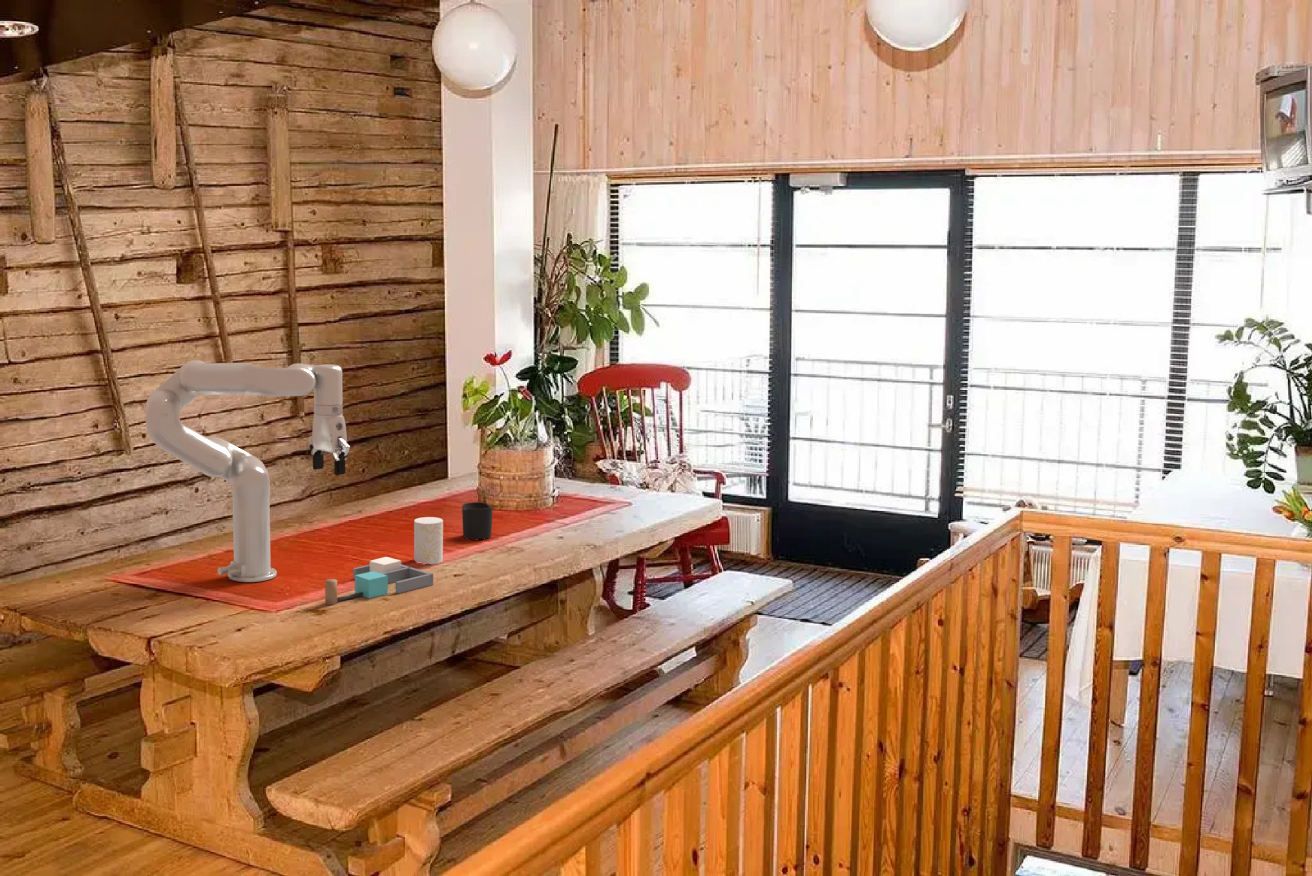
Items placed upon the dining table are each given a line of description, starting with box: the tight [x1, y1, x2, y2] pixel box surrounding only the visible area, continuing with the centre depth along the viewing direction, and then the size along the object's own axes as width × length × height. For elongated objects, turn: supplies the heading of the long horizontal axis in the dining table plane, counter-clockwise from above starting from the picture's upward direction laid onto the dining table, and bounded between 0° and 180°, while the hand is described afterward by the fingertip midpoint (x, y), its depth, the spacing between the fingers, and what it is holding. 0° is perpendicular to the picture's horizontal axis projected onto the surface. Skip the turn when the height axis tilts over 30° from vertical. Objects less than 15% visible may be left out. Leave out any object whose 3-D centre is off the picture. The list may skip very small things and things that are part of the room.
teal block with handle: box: [324, 571, 389, 606], centre depth 338 cm, size 17×6×6 cm, turn 139°
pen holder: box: [461, 501, 494, 540], centre depth 404 cm, size 9×9×10 cm
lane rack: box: [352, 563, 434, 594], centre depth 354 cm, size 12×19×3 cm, turn 50°
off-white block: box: [369, 556, 402, 573], centre depth 357 cm, size 6×6×5 cm
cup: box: [413, 516, 444, 565], centre depth 375 cm, size 8×8×12 cm
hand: (328, 471), depth 357 cm, fingers open, 9 cm apart
